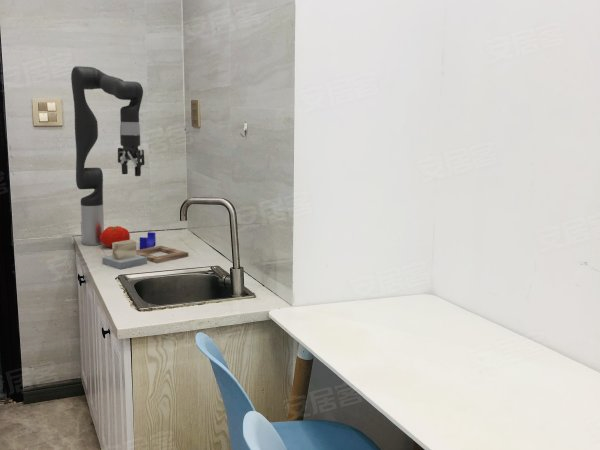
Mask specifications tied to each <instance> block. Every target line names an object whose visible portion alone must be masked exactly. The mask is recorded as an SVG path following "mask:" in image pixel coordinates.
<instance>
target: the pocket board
mask: <svg viewBox="0 0 600 450" xmlns="http://www.w3.org/2000/svg"><path fill="white" fill-rule="evenodd" d="M136 252H137V255H140V256H144V257H147V262H151V263H155V264H159V263H164V262H167V261H168V262H169V261H173V260H178V259H183V258H186V257H189V252H187V251H183V250H180V249H176V248H171V247H167V246H164V245H156V246H154V247H151V248H146V249H140V248H139V249H136ZM155 253H164V254H163V255H152V254H155Z"/></svg>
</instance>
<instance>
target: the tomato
mask: <svg viewBox="0 0 600 450" xmlns="http://www.w3.org/2000/svg"><path fill="white" fill-rule="evenodd" d="M126 240H131V234H130V232H129V231H128V229H126V228H124V227H122V226H120V225H119V226H118V225H116V226H107V227H106V228H104V231H103V232H102V233H101V235H100V241H101V242H102V243H103V245H104V246H106V247H108V248H112V243H115V242H121V241H126Z"/></svg>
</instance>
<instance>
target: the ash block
mask: <svg viewBox="0 0 600 450" xmlns="http://www.w3.org/2000/svg"><path fill="white" fill-rule="evenodd" d="M111 248H112V255H113V258H114V259H117V260H122V259H127V258H132V257H137V252H136V250H137V241H136V240H132V239H130V240H126V241H121V242H115V243H112V247H111Z"/></svg>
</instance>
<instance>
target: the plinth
mask: <svg viewBox="0 0 600 450" xmlns="http://www.w3.org/2000/svg"><path fill="white" fill-rule="evenodd" d="M101 261H102V265H106V266H109V267H113V268H115V269H118V270H124V269H129V268H133V267H137V266H142V265H143V266H144V265H147V264H148V261H147V257H144V256H140V255H137V257H132V258H127V259H122V260H117V259H114V258H113V254H112V255H108V256H102V257H101Z"/></svg>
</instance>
